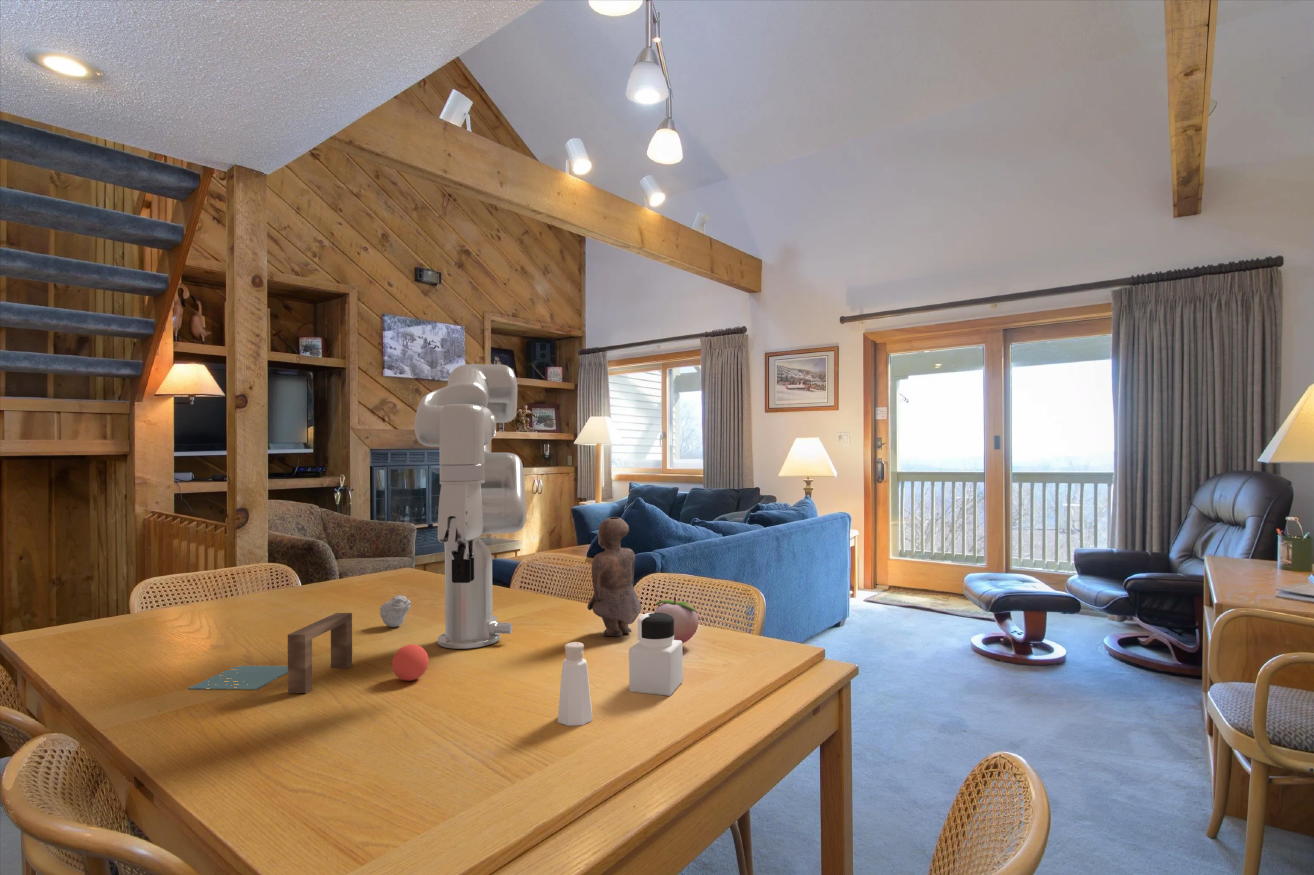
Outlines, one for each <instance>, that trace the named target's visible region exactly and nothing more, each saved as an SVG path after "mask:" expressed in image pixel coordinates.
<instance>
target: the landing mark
mask: <svg viewBox="0 0 1314 875" xmlns="http://www.w3.org/2000/svg"><path fill="white" fill-rule="evenodd" d="M240 666H241V667H235V666H232V667H231V668H229V669H236V670H228V669H226V670H224V671H223V672H224V673H222V672H220V673H217V674H215V675H213V676H212V677H209V678H207V679H204V680H203V681H200V682H198V683H196V684H194V685H191V686H190V687H188V688H187V689H188V690H207V689H206V688H210V689H209V690H212V689H253V690H252V691H257V690H259V689H261V688H262V687H264V685H265V686H267V685H269V684H271V683H272V682H274V681H276V680H277V679H276V678H278V679H279V677H280V678H282V677H283V676H285V675H287V674H288V665H240ZM237 669H238V670H237ZM237 672H238V673H237ZM286 673H287V674H286ZM219 675H221V676H219ZM222 675H223V676H222ZM282 675H283V676H282ZM220 678H221V679H220ZM226 678H230V679H226ZM231 678H232V679H231ZM275 679H276V680H275ZM273 680H274V681H273ZM208 681H209V682H208ZM224 681H229V682H224ZM233 681H238V682H233ZM243 681H244V682H243ZM271 681H272V682H271ZM208 684H209V685H208ZM215 684H216V685H215ZM217 684H218V685H217ZM226 684H227V685H226ZM234 684H239V685H234ZM247 684H248V685H247ZM266 684H267V685H266ZM231 685H232V686H231ZM234 687H237V688H234ZM260 687H261V688H260ZM258 688H259V689H258Z"/></svg>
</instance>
